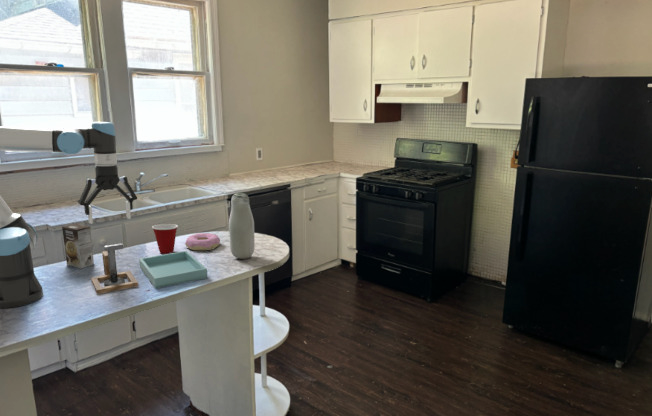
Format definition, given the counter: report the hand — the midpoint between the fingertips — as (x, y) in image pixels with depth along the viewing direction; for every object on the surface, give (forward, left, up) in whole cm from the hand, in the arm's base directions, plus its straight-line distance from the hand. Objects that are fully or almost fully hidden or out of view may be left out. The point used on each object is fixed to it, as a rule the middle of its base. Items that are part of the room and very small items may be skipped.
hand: (110, 220), depth 181 cm
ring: (-2, -9, -21) cm, 23 cm away
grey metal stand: (-2, -12, -21) cm, 24 cm away
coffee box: (-10, +17, -21) cm, 29 cm away
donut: (+40, +14, -21) cm, 47 cm away
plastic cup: (+24, +15, -21) cm, 35 cm away
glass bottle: (+49, -10, -21) cm, 54 cm away
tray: (+19, -12, -21) cm, 30 cm away
